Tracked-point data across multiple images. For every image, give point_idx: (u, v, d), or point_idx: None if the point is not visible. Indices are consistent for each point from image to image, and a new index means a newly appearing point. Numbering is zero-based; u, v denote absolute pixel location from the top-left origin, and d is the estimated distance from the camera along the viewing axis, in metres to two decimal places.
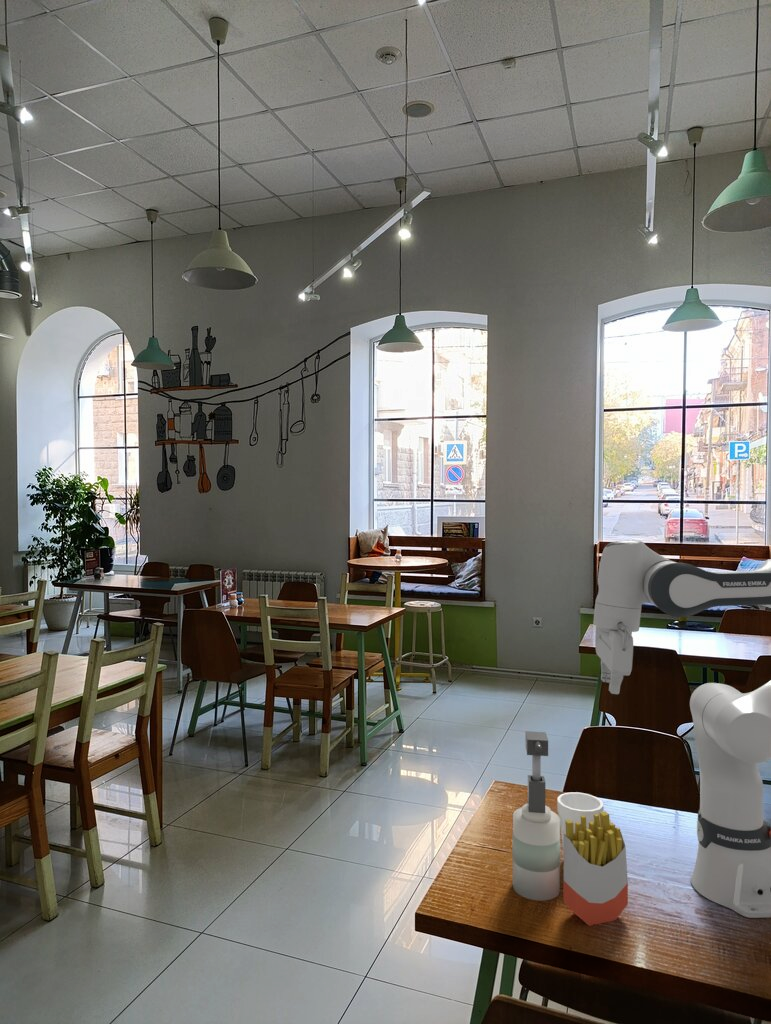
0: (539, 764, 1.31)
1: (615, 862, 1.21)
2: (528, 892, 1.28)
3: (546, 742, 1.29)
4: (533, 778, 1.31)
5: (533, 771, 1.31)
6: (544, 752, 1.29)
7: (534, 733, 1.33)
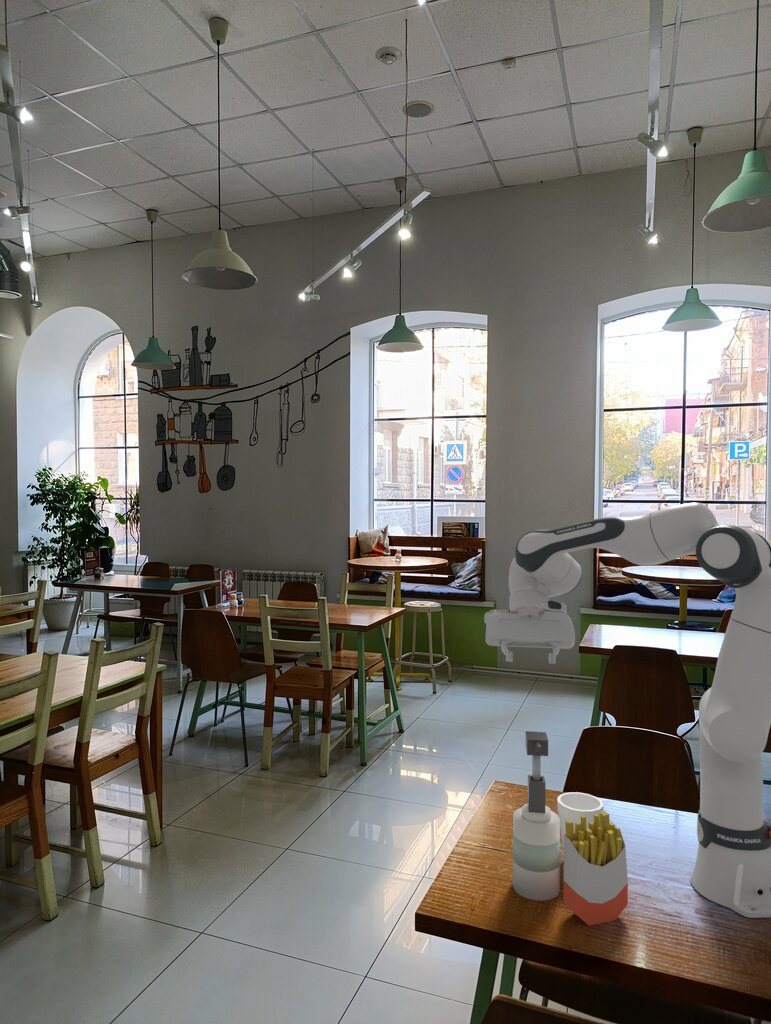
0: (539, 764, 1.31)
1: (615, 862, 1.21)
2: (528, 892, 1.28)
3: (546, 742, 1.29)
4: (533, 778, 1.31)
5: (533, 771, 1.31)
6: (544, 752, 1.29)
7: (534, 733, 1.33)
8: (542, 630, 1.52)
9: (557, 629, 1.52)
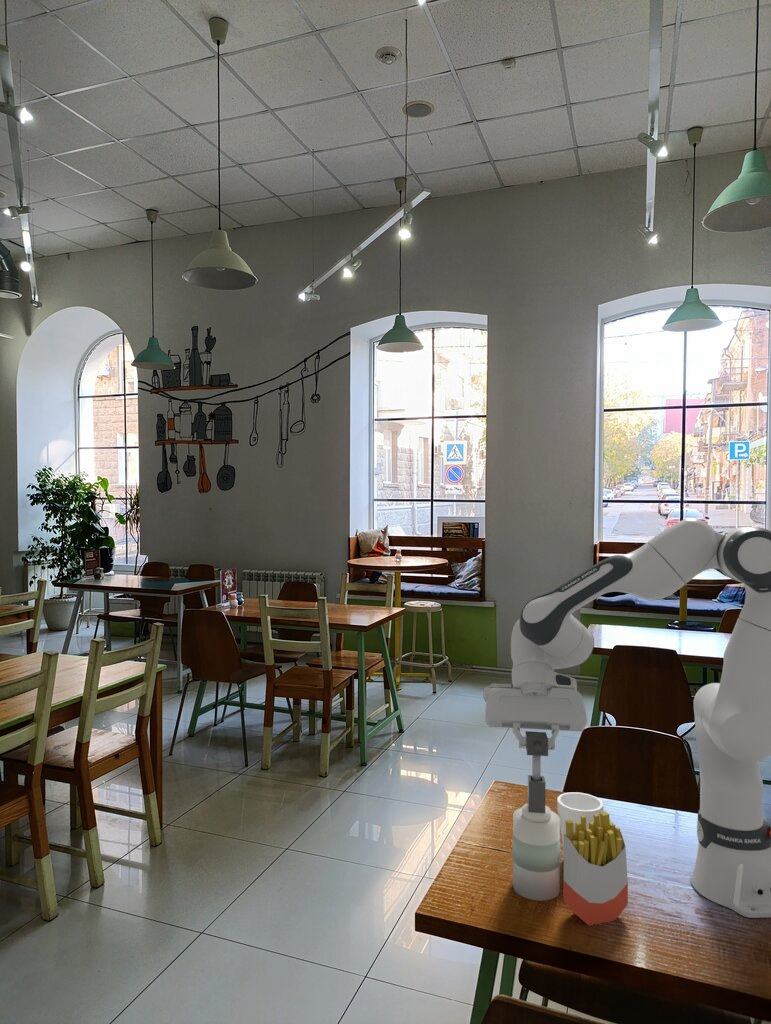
0: (539, 764, 1.31)
1: (615, 862, 1.21)
2: (528, 892, 1.28)
3: (546, 742, 1.29)
4: (533, 778, 1.31)
5: (533, 771, 1.31)
6: (544, 752, 1.29)
7: (534, 733, 1.33)
8: (549, 711, 1.34)
9: (566, 709, 1.34)
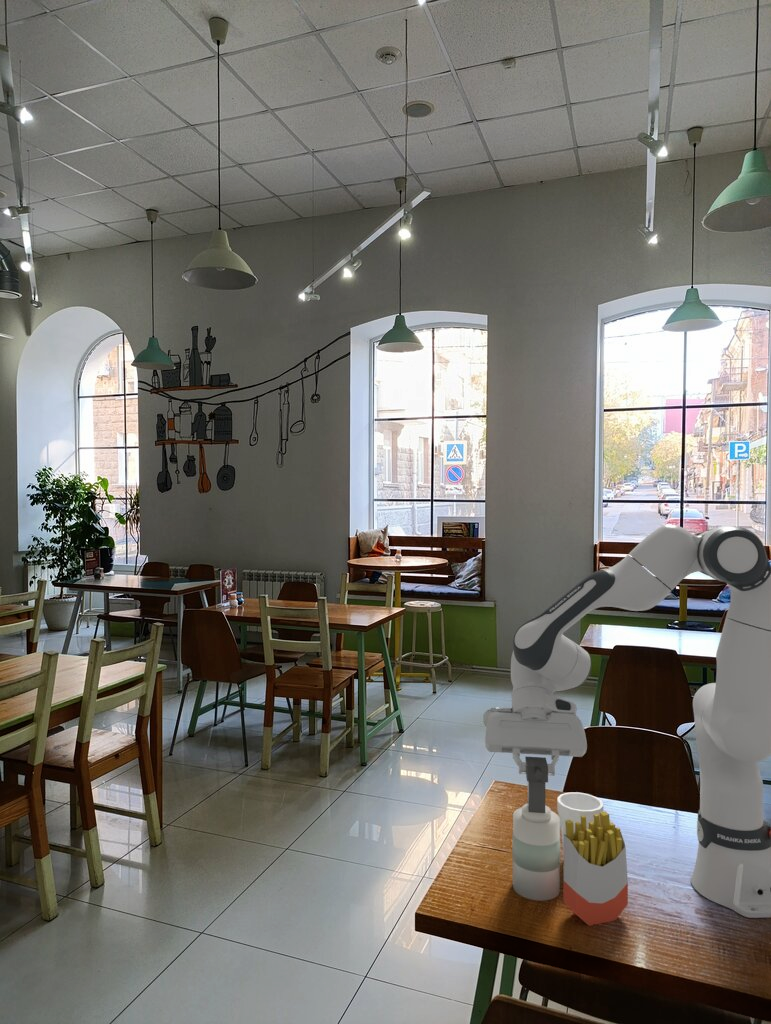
0: None
1: (615, 862, 1.21)
2: (528, 892, 1.28)
3: (546, 768, 1.29)
4: None
5: None
6: (544, 778, 1.29)
7: (534, 759, 1.33)
8: (549, 736, 1.34)
9: (566, 734, 1.34)
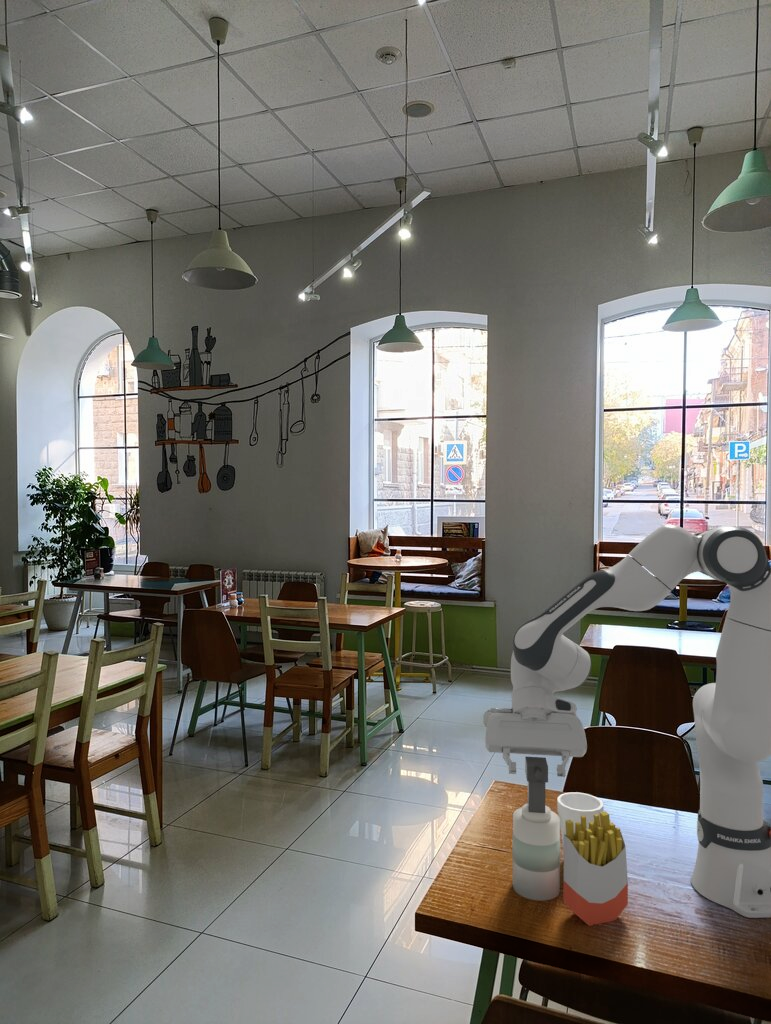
0: None
1: (615, 862, 1.21)
2: (528, 892, 1.28)
3: (546, 768, 1.29)
4: None
5: None
6: (544, 778, 1.29)
7: (534, 759, 1.33)
8: (549, 736, 1.34)
9: (566, 734, 1.34)
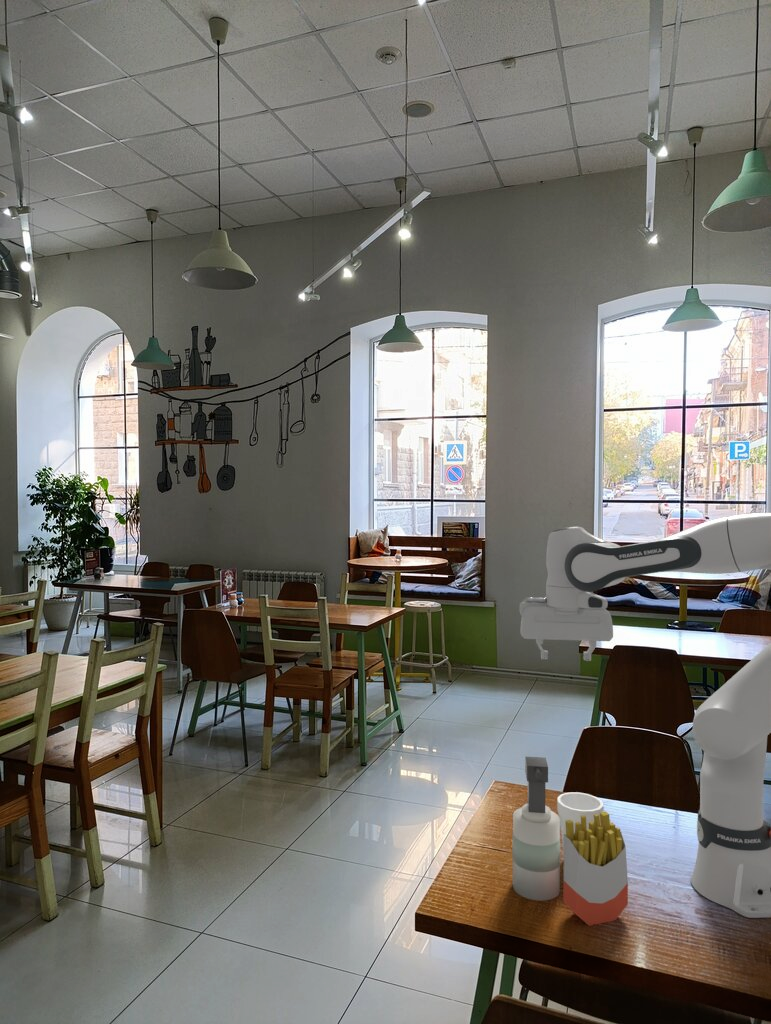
0: None
1: (615, 862, 1.21)
2: (528, 892, 1.28)
3: (546, 768, 1.29)
4: None
5: None
6: (544, 778, 1.29)
7: (534, 759, 1.33)
8: (579, 630, 1.48)
9: (595, 627, 1.48)
